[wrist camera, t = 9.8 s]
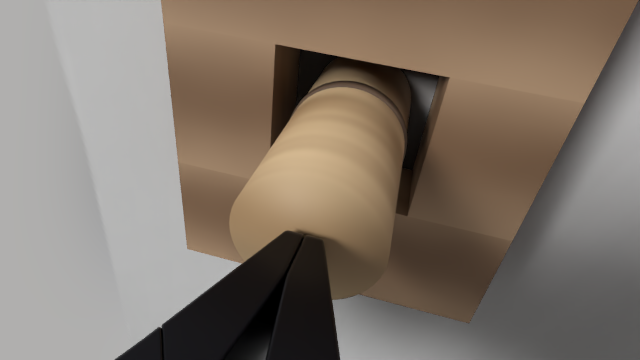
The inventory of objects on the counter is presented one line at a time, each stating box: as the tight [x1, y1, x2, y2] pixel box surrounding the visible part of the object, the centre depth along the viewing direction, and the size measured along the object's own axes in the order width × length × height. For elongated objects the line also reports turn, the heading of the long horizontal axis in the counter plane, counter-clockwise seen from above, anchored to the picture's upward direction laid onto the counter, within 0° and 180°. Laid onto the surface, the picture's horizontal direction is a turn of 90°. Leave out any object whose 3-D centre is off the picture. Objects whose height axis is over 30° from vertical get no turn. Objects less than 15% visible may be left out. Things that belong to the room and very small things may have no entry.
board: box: [161, 0, 638, 323], centre depth 14 cm, size 14×12×3 cm
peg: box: [229, 56, 411, 300], centre depth 12 cm, size 4×4×8 cm
